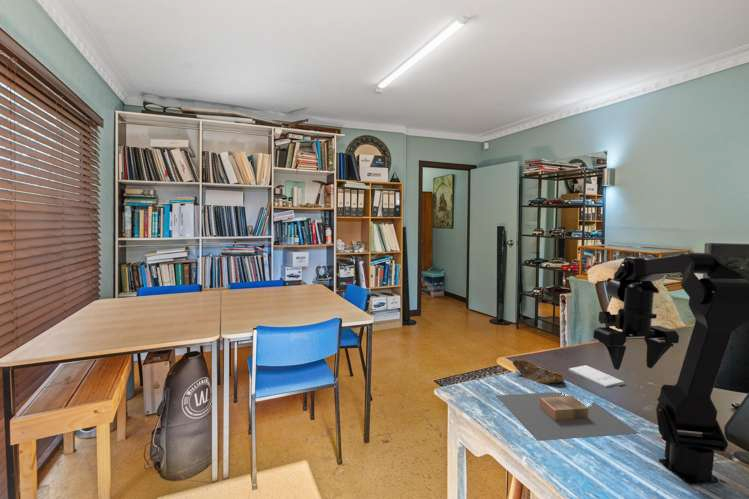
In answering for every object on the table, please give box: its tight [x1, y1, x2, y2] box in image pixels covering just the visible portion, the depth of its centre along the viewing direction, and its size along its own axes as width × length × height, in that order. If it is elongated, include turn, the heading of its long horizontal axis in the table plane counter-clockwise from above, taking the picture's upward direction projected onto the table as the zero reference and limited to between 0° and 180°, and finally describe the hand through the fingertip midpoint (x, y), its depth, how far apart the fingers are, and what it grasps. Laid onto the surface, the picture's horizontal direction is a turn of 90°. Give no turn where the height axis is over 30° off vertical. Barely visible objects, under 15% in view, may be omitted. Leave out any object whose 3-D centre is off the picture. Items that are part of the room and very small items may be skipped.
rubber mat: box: [494, 391, 639, 442], centre depth 90 cm, size 20×25×1 cm
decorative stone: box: [512, 358, 565, 385], centre depth 110 cm, size 10×4×15 cm
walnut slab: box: [540, 396, 589, 420], centre depth 89 cm, size 6×2×9 cm
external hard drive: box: [568, 364, 625, 388], centre depth 111 cm, size 2×8×12 cm
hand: (632, 368), depth 89 cm, fingers open, 9 cm apart
